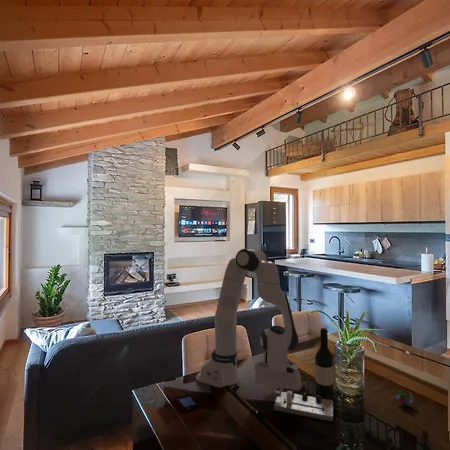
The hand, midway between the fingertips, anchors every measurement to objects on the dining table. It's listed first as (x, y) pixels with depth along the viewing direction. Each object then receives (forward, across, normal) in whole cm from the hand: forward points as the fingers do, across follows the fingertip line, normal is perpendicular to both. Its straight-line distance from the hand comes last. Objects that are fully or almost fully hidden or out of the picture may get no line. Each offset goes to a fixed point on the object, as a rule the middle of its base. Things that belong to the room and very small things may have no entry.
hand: (277, 396), depth 136 cm
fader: (+2, +5, 0) cm, 5 cm away
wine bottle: (+4, +19, +21) cm, 29 cm away
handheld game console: (+4, -39, -14) cm, 42 cm away
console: (+4, +11, +2) cm, 12 cm away
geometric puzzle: (+4, +53, +19) cm, 57 cm away
